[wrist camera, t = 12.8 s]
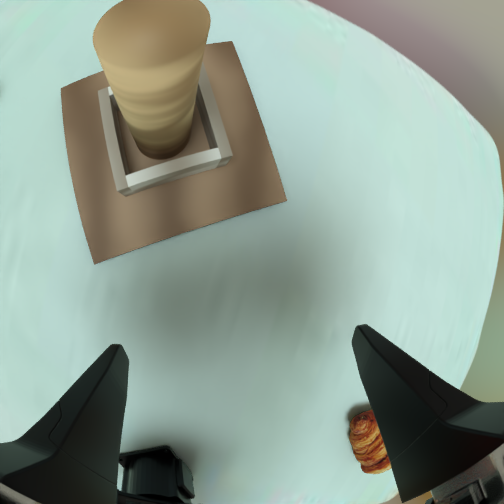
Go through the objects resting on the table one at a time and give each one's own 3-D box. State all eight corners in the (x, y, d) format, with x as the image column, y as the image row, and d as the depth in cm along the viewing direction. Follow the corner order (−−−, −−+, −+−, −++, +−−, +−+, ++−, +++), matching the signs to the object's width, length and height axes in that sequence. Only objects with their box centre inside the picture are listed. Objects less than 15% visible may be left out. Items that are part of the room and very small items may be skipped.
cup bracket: (97, 262, 20) (81, 269, 16) (64, 92, 17) (49, 72, 14) (282, 201, 23) (302, 196, 19) (230, 46, 21) (239, 22, 17)
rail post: (162, 171, 20) (143, 87, 7) (123, 137, 19) (72, 36, 6) (202, 130, 20) (234, 21, 8) (162, 99, 19) (159, -21, 7)
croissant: (403, 427, 36) (443, 428, 29) (382, 478, 30) (423, 484, 24) (346, 383, 30) (402, 383, 24) (312, 455, 25) (370, 470, 18)
